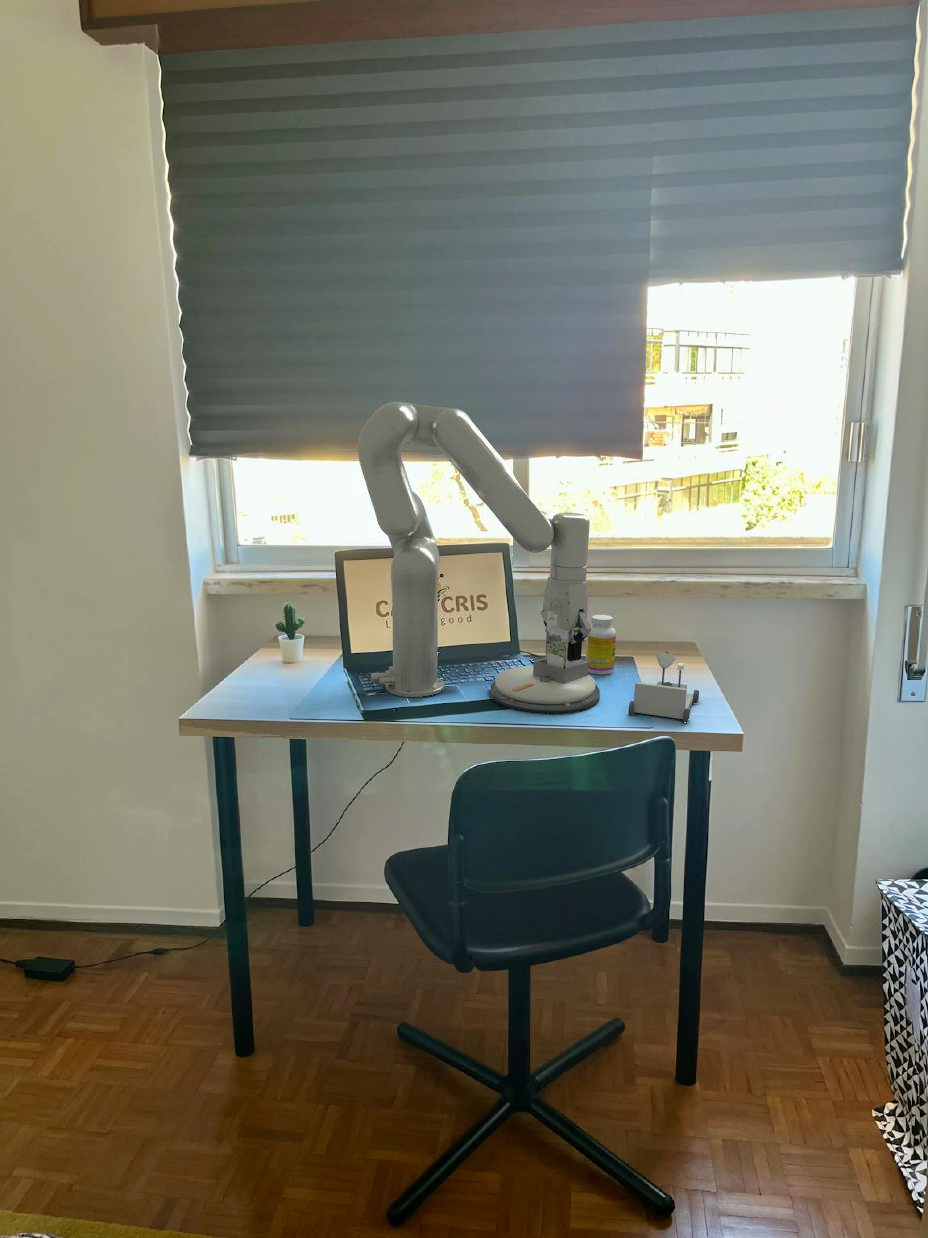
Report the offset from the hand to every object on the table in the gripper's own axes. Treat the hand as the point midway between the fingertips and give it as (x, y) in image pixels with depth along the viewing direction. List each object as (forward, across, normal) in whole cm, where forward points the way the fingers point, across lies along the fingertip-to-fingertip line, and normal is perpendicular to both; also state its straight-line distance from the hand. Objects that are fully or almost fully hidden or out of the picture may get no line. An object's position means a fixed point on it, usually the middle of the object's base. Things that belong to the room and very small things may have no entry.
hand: (563, 654), depth 192 cm
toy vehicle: (+8, +18, +13) cm, 24 cm away
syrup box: (+5, 0, 0) cm, 5 cm away
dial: (+6, 0, -5) cm, 8 cm away
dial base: (+8, 0, -5) cm, 10 cm away
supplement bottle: (+8, -7, +16) cm, 20 cm away
